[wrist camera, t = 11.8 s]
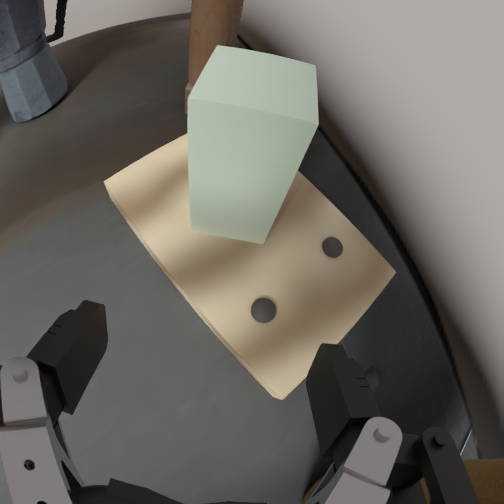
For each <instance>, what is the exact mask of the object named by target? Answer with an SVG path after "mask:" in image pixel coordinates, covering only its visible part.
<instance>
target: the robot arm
mask: <svg viewBox="0 0 504 504" xmlns="http://www.w3.org/2000/svg"><path fill="white" fill-rule="evenodd" d="M107 343H108V334H107V323H106V311H105V306H104V305H103V304H99V303H96V302H92V301H88V300H84V301H83V302H82V303H81V304H80V306H79V307H78V308H77V309H76V310H69V311H67V312H66V313H64V314H62V315H60V316H59V317H58V319H57V320H56V321H55V322H54V323H53V326H51V327H50V328H49V329H48V330H47V332H46V333H45V334H44V335H43V336H42V338H41V339H40V340H39V341H38V343H37V344H36V345H35V346H34V348H33V349H32V350H31V351H30V353H29V354H28V355H27V357H15V358H12V359H10V360H8V361H7V362H6V363H5V364H4V365H3V366H2V365H0V449H1V454H2V460H3V465H4V469H5V474H6V478H7V482H8V486H9V490H10V493H11V497H12V500H13V503H14V504H183V503H180V502H178V501H175V500H173V499H170V498H168V497H165V496H163V495H161V494H159V493H156V492H154V491H152V490H150V489H148V488H144V487H140V486H136V485H132V484H129V483H125V482H122V481H119V480H115V479H112V478H110V482H109V485H92V486H85V485H84V483H83V481H82V479H81V477H80V475H79V473H78V471H77V469H76V467H75V465H74V463H73V460H72V457H71V455H70V452H69V449H68V446H67V443H66V440H65V437H64V434H63V430H62V427H61V424H60V420H59V416H60V414H61V412H62V411H64V412H66V413H68V414H71V415H73V413H74V411H75V409H76V407H77V405H78V403H79V401H80V399H81V397H82V395H83V393H84V391H85V389H86V387H87V385H88V383H89V381H90V379H91V377H92V375H93V374H94V372H95V370H96V368H97V366H98V364H99V362H100V361H101V359H102V357H103V355H104V353H105V351H106V348H107ZM365 378H366V377H365V375H364V373H363V371H362V368H361V367H360V366H359V365H358V364H357V363H356V362H355V361H354V360H353V359H352V358H348V357H347V355H346V352H345V350H344V347H343V346H342V345H340V344H328V343H322V344H321V345H320V346H319V348H318V351H317V353H316V355H315V358H314V360H313V362H312V365H311V367H310V369H309V371H308V374H307V380H306V387H307V391H308V396H309V400H310V405H311V410H312V414H313V419H314V423H315V428H316V433H317V437H318V442H319V447H320V452H321V456H333V459H334V462H333V463H332V465H331V466H330V467H329V469H328V471H327V472H326V474H325V475H324V477H323V478H322V480H321V481H320V483H319V484H318V486H317V487H316V489H315V490H314V492H313V493H312V494H311V496H310V497H309V499H308V500H307V501H306V502H305V504H386V503H387V504H427V501H426V497H425V494H424V491H423V487H422V484H421V481H420V480H421V479H422V478H423V477H424V479H425V482H426V486H427V489H428V492H429V495H430V504H479V501H478V498H477V495H476V493H475V490H474V488H473V485H472V482H471V480H470V477H469V475H468V473H467V470H466V468H465V465H464V463H463V461H462V458H461V456H460V454H459V452H458V449H457V447H456V445H455V443H454V441H453V438H452V437H451V435H450V434H449V433H448V432H447V431H446V430H445V429H443V428H441V427H436V426H432V427H429V428H427V429H426V430H425V431H424V432H423V433H422V434H421V435H414V434H408V433H402V432H401V430H400V428H399V427H398V425H397V424H396V423H394V422H393V421H392V420H390V419H387V418H384V417H382V415H381V412H380V410H379V408H378V405H377V403H376V400H375V398H374V396H373V393H372V391H371V389H370V388H369V384H368V382H367V380H365ZM208 504H267V503H249V502H231V501H227V502H218V503H208Z"/></svg>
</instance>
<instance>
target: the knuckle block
mask: <svg viewBox="0 0 504 504" xmlns="http://www.w3.org/2000/svg"><path fill="white" fill-rule="evenodd" d="M318 125H319V122H318V97H317V77H316V66H315V65H312V64H309V63H305V62H301V61H297V60H294V59H290V58H285V57H281V56H277V55H272V54H268V53H263V52H258V51H252V50H247V49H241V48H234V47H228V46H220V45H217V47H216V48H215V50H214V52H213V53H212V55H211V57H210V58H209V60H208V62H207V64H206V65H205V67H204V69H203V71H202V72H201V74H200V76H199V78H198V80H197V82H196V83H195V85H194V87H193V89H192V91H191V93H190V95H189V97H188V179H189V204H190V224H191V231H195V232H200V233H206V234H211V235H216V236H221V237H226V238H232V239H237V240H242V241H247V242H252V243H257V244H262V245H263V244H264V242H265V239H266V237H267V235H268V233H269V231H270V229H271V227H272V224H273V222H274V220H275V218H276V216H277V214H278V212H279V209H280V207H281V205H282V203H283V201H284V199H285V196H286V194H287V192H288V190H289V188H290V186H291V184H292V181H293V179H294V177H295V175H296V173H297V171H298V168H299V166H300V164H301V162H302V160H303V158H304V155H305V153H306V151H307V149H308V147H309V144H310V142H311V140H312V138H313V136H314V134H315V131H316V129H317V127H318Z"/></svg>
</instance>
